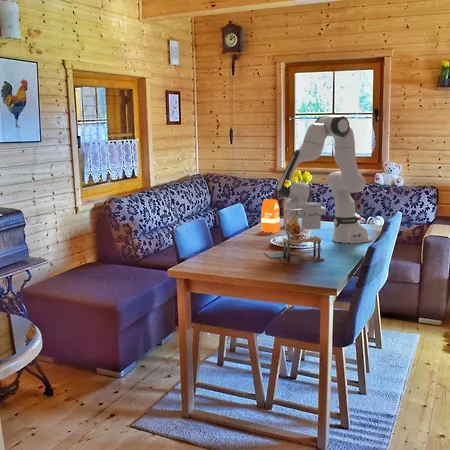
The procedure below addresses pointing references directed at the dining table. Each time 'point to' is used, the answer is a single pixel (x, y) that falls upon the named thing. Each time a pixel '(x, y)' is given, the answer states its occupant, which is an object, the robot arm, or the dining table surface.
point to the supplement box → (311, 215)
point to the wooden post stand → (301, 242)
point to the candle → (285, 213)
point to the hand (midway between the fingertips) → (312, 214)
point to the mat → (275, 254)
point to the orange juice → (270, 216)
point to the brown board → (302, 259)
